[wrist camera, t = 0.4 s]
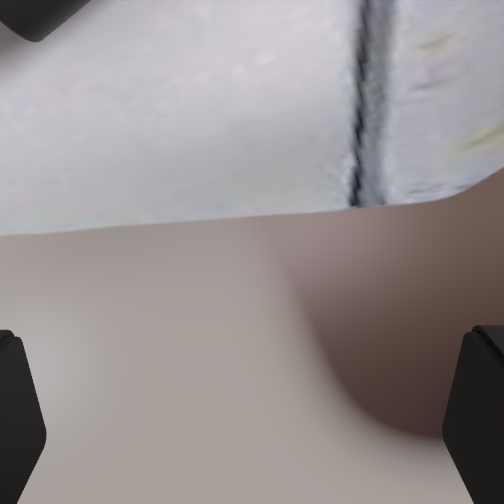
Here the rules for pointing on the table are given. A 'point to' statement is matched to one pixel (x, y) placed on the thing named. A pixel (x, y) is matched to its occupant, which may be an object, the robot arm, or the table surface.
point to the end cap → (37, 16)
